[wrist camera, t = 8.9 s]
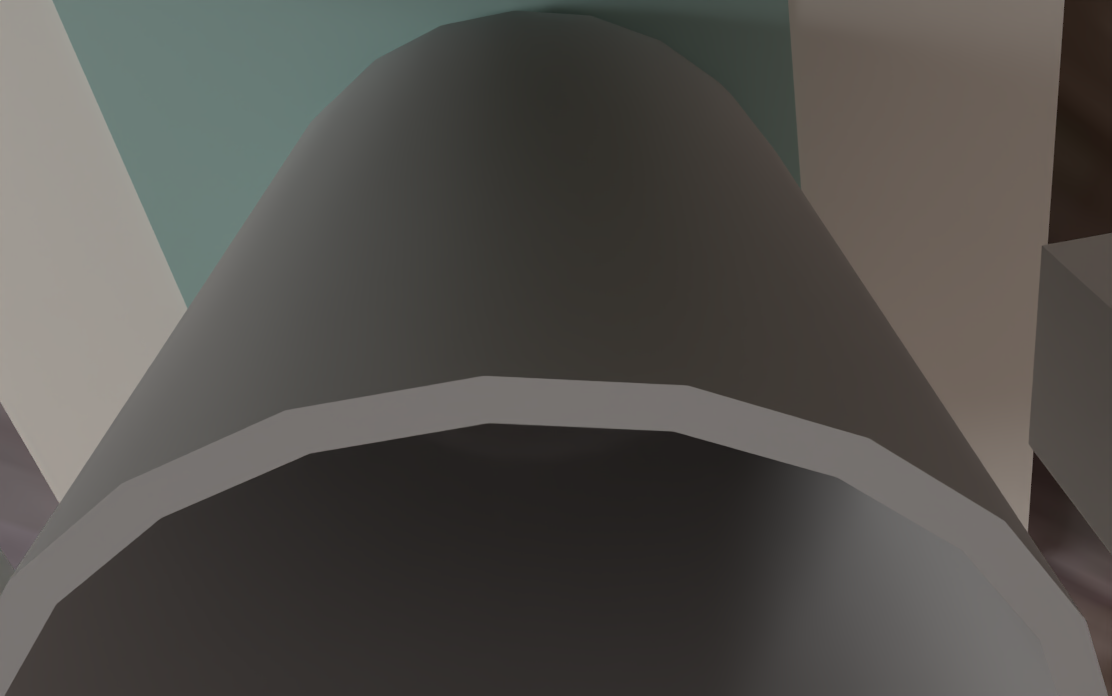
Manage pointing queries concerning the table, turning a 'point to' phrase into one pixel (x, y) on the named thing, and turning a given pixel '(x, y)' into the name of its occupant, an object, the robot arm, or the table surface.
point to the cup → (536, 425)
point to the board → (426, 3)
